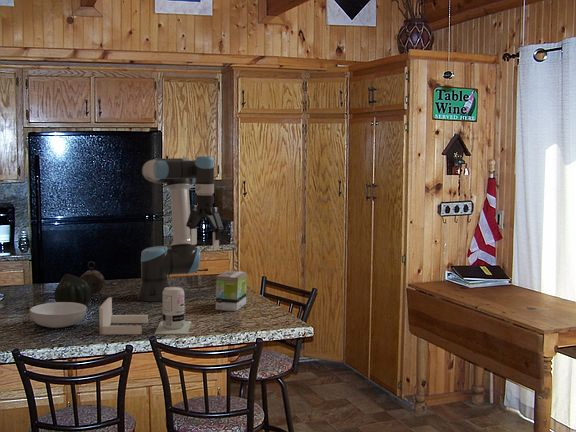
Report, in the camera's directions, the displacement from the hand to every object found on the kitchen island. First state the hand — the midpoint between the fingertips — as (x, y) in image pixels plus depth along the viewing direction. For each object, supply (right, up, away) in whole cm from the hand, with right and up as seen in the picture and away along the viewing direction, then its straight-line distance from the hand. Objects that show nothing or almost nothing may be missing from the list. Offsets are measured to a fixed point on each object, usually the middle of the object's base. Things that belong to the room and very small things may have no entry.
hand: (204, 246), depth 290 cm
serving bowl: (-55, -30, -16) cm, 64 cm away
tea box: (+9, -27, +18) cm, 34 cm away
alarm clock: (-56, -25, +35) cm, 71 cm away
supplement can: (-10, -30, -18) cm, 37 cm away
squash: (-58, -27, +15) cm, 66 cm away
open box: (-28, -31, -19) cm, 46 cm away
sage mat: (-10, -31, -18) cm, 37 cm away
